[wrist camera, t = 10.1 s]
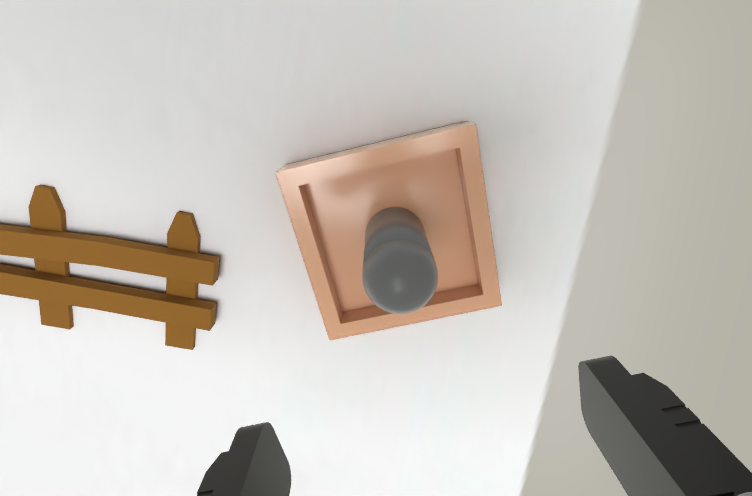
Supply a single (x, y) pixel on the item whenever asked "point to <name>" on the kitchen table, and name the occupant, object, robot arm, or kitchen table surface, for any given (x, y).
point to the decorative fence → (62, 247)
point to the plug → (398, 262)
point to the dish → (394, 189)
